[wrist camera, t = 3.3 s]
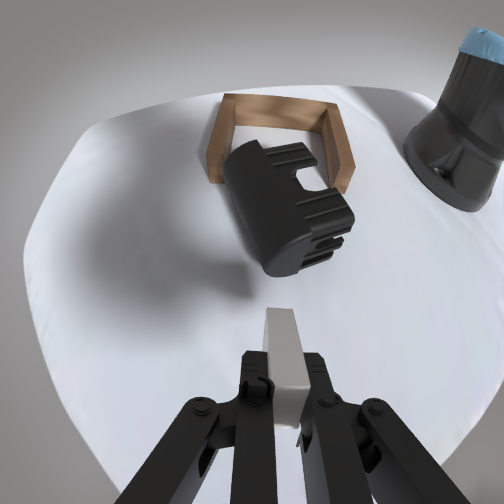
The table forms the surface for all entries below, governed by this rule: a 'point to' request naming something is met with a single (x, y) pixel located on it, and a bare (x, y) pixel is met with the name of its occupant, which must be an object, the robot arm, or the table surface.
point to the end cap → (285, 207)
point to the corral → (282, 116)
